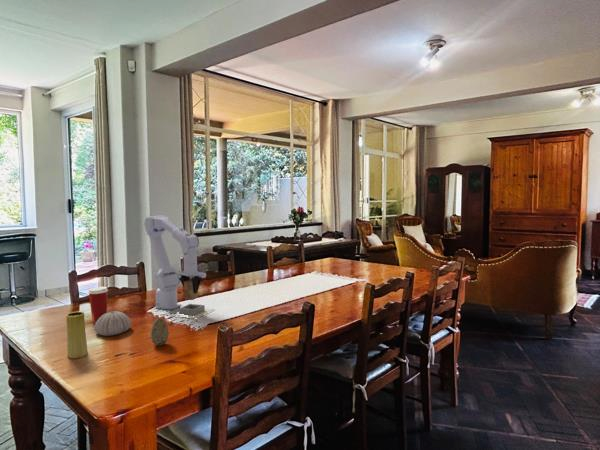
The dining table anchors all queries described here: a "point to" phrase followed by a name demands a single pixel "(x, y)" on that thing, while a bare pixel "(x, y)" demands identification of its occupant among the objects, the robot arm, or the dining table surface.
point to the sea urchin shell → (112, 323)
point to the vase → (76, 335)
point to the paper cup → (98, 302)
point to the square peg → (189, 290)
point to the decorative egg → (159, 332)
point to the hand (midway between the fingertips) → (191, 292)
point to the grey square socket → (193, 310)
